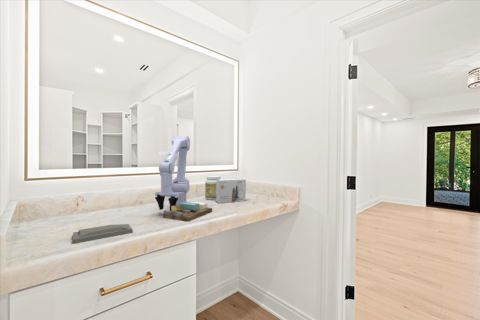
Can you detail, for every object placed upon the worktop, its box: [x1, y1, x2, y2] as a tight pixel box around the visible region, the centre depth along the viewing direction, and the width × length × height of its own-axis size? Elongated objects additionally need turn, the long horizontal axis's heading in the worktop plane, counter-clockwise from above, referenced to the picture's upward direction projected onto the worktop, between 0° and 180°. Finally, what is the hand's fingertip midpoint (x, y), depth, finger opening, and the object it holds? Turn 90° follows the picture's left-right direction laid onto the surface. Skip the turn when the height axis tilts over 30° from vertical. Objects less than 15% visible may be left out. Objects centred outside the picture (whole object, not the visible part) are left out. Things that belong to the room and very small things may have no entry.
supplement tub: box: [204, 175, 221, 201], centre depth 166 cm, size 12×12×17 cm
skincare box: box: [215, 178, 247, 204], centre depth 156 cm, size 21×6×16 cm, turn 118°
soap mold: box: [72, 223, 134, 245], centre depth 89 cm, size 10×20×4 cm, turn 128°
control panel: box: [162, 207, 213, 222], centre depth 120 cm, size 16×22×4 cm
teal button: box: [179, 201, 199, 210], centre depth 120 cm, size 10×5×2 cm, turn 66°
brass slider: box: [171, 204, 181, 213], centre depth 115 cm, size 3×4×4 cm
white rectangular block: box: [191, 201, 208, 209], centre depth 128 cm, size 10×5×2 cm, turn 65°
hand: (166, 210), depth 117 cm, fingers open, 7 cm apart
